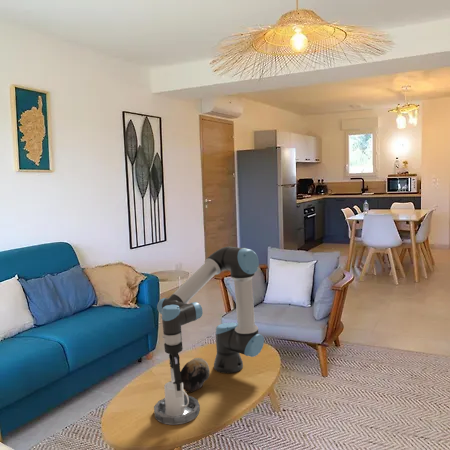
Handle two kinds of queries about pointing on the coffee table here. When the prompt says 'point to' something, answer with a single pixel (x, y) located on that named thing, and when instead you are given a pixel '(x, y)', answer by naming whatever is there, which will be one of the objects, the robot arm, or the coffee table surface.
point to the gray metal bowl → (187, 416)
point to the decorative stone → (194, 374)
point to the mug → (174, 400)
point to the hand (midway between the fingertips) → (176, 389)
